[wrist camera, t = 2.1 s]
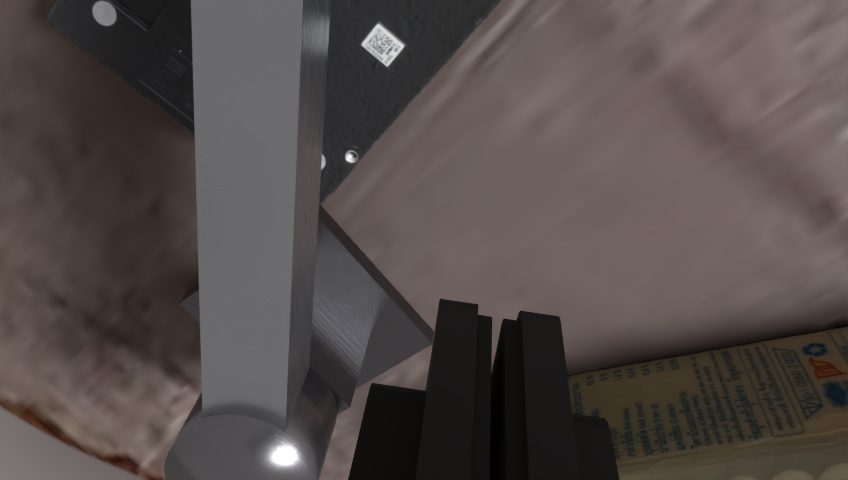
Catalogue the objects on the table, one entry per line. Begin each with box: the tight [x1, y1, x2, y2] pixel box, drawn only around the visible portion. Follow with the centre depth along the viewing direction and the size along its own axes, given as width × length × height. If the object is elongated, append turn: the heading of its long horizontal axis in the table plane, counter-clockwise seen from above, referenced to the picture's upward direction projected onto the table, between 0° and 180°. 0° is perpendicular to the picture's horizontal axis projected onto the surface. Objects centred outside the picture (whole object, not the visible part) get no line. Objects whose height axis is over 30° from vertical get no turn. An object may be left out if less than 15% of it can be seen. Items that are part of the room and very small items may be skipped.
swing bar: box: [164, 0, 337, 480], centre depth 20 cm, size 21×4×4 cm, turn 173°
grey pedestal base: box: [179, 205, 434, 414], centre depth 28 cm, size 7×7×5 cm
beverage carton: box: [567, 327, 848, 480], centre depth 28 cm, size 8×19×7 cm, turn 107°
